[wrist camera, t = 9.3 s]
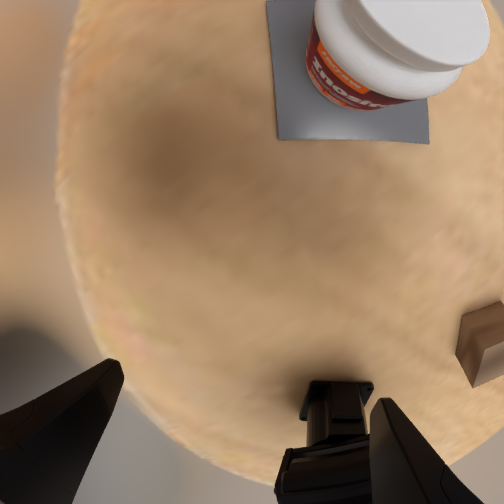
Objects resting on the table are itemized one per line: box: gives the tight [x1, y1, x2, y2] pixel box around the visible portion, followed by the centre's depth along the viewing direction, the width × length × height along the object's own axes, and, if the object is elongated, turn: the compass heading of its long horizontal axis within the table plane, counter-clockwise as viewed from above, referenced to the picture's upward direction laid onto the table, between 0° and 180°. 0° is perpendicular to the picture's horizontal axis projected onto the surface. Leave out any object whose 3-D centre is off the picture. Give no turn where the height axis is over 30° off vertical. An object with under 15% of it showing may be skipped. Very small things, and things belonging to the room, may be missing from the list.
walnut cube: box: [455, 301, 504, 388], centre depth 18 cm, size 5×5×5 cm
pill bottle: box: [306, 0, 490, 111], centre depth 9 cm, size 6×6×11 cm
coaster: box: [266, 0, 429, 144], centre depth 14 cm, size 10×10×1 cm
